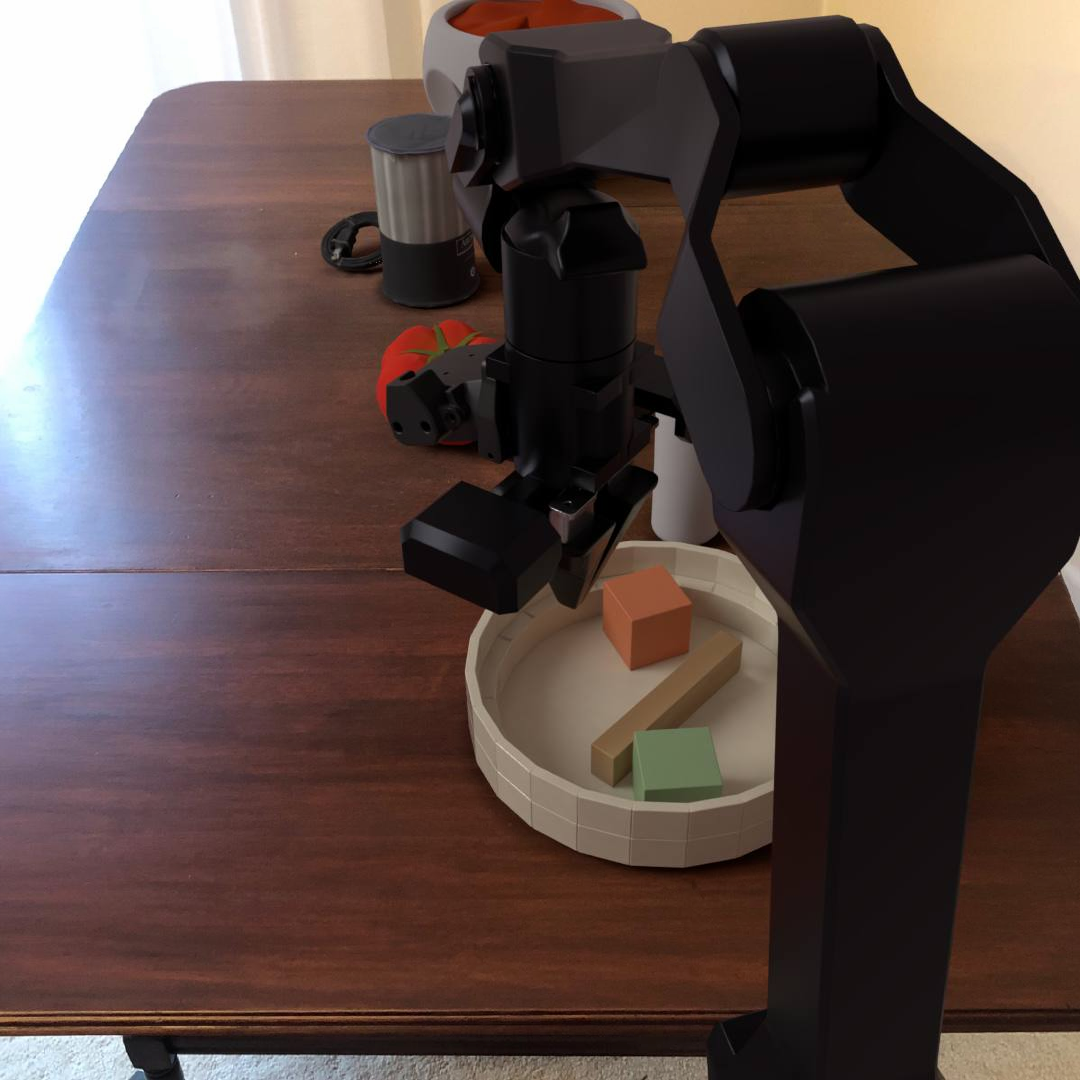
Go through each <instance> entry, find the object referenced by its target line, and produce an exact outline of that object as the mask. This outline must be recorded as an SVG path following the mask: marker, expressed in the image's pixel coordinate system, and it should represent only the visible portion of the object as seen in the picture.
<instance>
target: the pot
mask: <svg viewBox="0 0 1080 1080" xmlns="http://www.w3.org/2000/svg"><path fill="white" fill-rule="evenodd" d="M635 18H637V19H642V20H643V18H642V16H641V14H640V12H639V10H638V8H636V7H635V5H633V4H632V3H630V2H628V1H626V0H452V1H449V2H447V3H445V4H442V6H440V7H439V8H437V9H436V10H435V11H434V13H433V14H431V17H430V20H429V23H428V25H427V28H426V32H425V37H424V41H423V42H424V43H423V46H422V47H423V49H422V59H421V60H422V61H421V63H422V64H421V66H422V68H421V69H422V81H423V88H424V92H425V95H426V98H427V100H428V103H429V105H430V107H431V109H432V111H433V113H437V114H442V115H452V116H453V112H454V108H455V104H456V102H457V100H458V99H459V98H460V96H461V95H462V93H463V87H464V79H465V74H466V70H467V68H468V67H471V66H480V65H481V62H480V58H479V48H480V44H481V42H482V41H483V39H484V38H485V37H486V35H487V34H488V33H490V32H500V31H510V30H521V29H531V28H542V27H552V26H562V25H573V24H583V23H594V22H604V21H614V20H625V19H635ZM485 65H488V64H485Z"/></svg>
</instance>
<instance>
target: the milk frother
mask: <svg viewBox="0 0 1080 1080" xmlns="http://www.w3.org/2000/svg"><path fill="white" fill-rule="evenodd" d="M451 119H452V115H442V114H437V113H434V112H414V113H405V114H401V115H395V116H391V117H386V118H384V119H382V120H379V121H377V122H375V123H374V124H372V125H371V126H370V127H369V128H368V129H367V130H366V132H365V134H364V135H365V140H366V142H367V143H368V144H369V147H370V149H369V150H370V156H371V166H372V177H373V185H374V195H375V203H376V211H375V210H374V211H373V210H367V211H361V212H356V213H354V214H351V215H349V216H348V217H345V218H343V219H341V220H339V221H338V222H336V224H334V225H332V226H331V227H330V228H329V229H328V230H327V231H326V232H325V234H324V235H323V237H322V239H321V242H320V253H321V257H322V258H323V260H324V261H325V262H326V263H327V264H328V265H329V266H331V267H333V268H336V269H340V270H344V271H351V272H357V271H358V272H359V271H366V270H370V269H372V268H375V267H378V266H379V265H382V266H381V267H382V280H381V283H380V288H381V290H382V293H383V295H385V297H387V299H389V300H390V301H392V302H394V303H397V304H400V305H404V306H406V307H414V308H438V307H446V306H449V305H453V304H456V303H459V302H461V301H464V300H466V299H468V298H469V297H471V296H472V295H473V294H475V293H476V291H477V290H478V289H479V286H480V283H481V282H480V275H479V273H478V271H477V270H478V269H477V263H476V252H475V250H476V249H475V242H474V237H475V236H474V235H473V233H472V231H471V229H470V227H469V226H468V224H467V222H466V220H465V218H464V217H463V215H462V213H461V211H460V209H459V207H458V205H457V203H456V201H455V196H454V192H453V175H454V174H455V173H451V174H450V172H449V167H448V161H447V156H446V151H445V142H446V138H447V134H448V131H449V127H450V123H451ZM368 227H373V228H374V227H375V228H378V230H379V238H380V248H379V249H378V250H376V251H374V252H372V253H371V254H368V255H364V256H361V257H353V250H354V245H355V244H356V243H357V235H358V234H359V233H360V229H363V228H368ZM379 261H380V262H379ZM376 262H377V263H376ZM370 263H371V264H370Z"/></svg>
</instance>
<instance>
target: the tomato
mask: <svg viewBox="0 0 1080 1080" xmlns="http://www.w3.org/2000/svg"><path fill="white" fill-rule="evenodd" d="M484 332H486V330H484V331H483V330H482V331H479V330H476V329H475V328H473V327H472V326H470V325H469V324H468V323H466V321H464V320H458V319H457V320H456V319H448V318H447V319H446V320H444V321H442V322H440V323H438V324H436V323H435V322H433V327H428V326H425V325H421V324H416V325H414V326H412V327H410V328H407V329H405V330H404V331H403V332H402V333H401V334H399V336H397V338H395V340H393V341H392V342H391V344H390V345H388V346H387V348H386V350H385V351H384V354H383V355H382V359H381V371H380V373H379V376H378V378H377V381H376V401H377V403H378V407H379V411H380V412H381V414H382V415H383V416H384V417H385V419H386V420H387V422H388V423H389V421H388V418H387V415H386V385H387V384H388V383H390V382H391V381H393V380H394V379H396V378H397V377H399V376H400V375H402V374H403V373H405V372H406V371H408V370H413V371H414V372H416V371H418V370H419V369H421V368H422V367H424V366H425V365H427V364H428V363H430V362H431V361H432V360H434V359H435V358H437V357H438V356H440V355H441V354H443V353H444V352H446V351H448V350H451V349H453V348H456V347H460V346H464V345H474V344H488V343H499V341H498V340H497V339H495V338H493V337H492V338H491V337H485V336H484V335H483V333H484ZM473 442H474V441H463V442H440V443H439V444H441V445H443V446H447V445H448V446H464V445H467V444H471V443H473Z"/></svg>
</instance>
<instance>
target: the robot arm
mask: <svg viewBox="0 0 1080 1080" xmlns="http://www.w3.org/2000/svg"><path fill="white" fill-rule="evenodd" d="M479 58H480V62H481V65H480V66H471V67H468V68H467V70H466V74H465V79H464V87H463V93H462V95H461V96H460V98H459V99H458V100H457V102H456V104H455V108H454V112H453V116H452V119H451V123H450V127H449V131H448V134H447V138H446V142H445V151H446V156H447V161H448V167H449V172H450V174H451V173H455V174H454V175H453V192H454V196H455V201H456V203H457V205H458V207H459V209H460V211H461V213H462V215H463V217H464V218H465V220H466V222H467V224H468V226H469V227H470V229H471V231H472V233H473V235H474V236H473V237H474V238H475V240H476V242H477V243H478V246H479V247H480V249H481V251H482V253H483V255H484V257H485V259H486V260H487V261H488V264H489V265H490V267H491V268H492V270H494V272H495V273H497V274H501V275H502V298H503V299H502V301H503V323H504V341H503V342H498V343H488V344H474V345H464V346H460V347H456V348H453V349H451V350H448V351H446V352H444V353H443V354H441V355H440V356H438V357H437V358H435V359H434V360H432V361H431V362H430V363H428V364H427V365H425V366H424V367H422V368H421V369H419V370H418V371H416V372H414V371H413V370H408V371H406V372H405V373H403V374H402V375H400V376H399V377H397V378H396V379H394V380H393V381H391V382H390V383H388V384H387V385H386V415H387V418H388V420H387V422H388V421H389V422H388V425H389V426H390V428H391V431H392V434H393V437H394V438H395V439H396V440H397V442H400V444H402V445H404V446H407V447H434V446H435V447H436V446H437V445H439V444H440V442H463V441H473V442H477V445H478V447H477V449H478V457H479V458H481V459H483V460H487V461H489V462H492V463H494V464H497V465H501V464H503V463H504V462H505V461H508V462H511V463H513V466H514V467H513V468H514V470H513V471H512V472H511V473H510V474H508V475H507V476H506V477H504V478H503V479H501V481H500V482H498V483H497V484H496V485H495V486H494V487H493V488H492V489H490V490H487V489H485V488H483V487H480V486H478V485H475V484H472V483H469V482H467V481H464V480H460V481H458V482H457V483H456V484H454V485H452V486H451V487H450V488H448V489H447V490H446V491H445V490H444V492H442V494H440V495H439V496H438V497H436V498H435V499H434V500H433V501H431V502H430V503H429V504H428V505H427V506H425V507H424V508H423V509H421V510H420V512H418V513H417V514H416V515H414V516H413V517H411V518H410V519H409V520H408V521H407V522H406V523H404V524H403V525H402V526H401V527H399V538H400V547H401V558H402V564H403V565H402V566H403V572H404V574H407V575H409V576H411V577H413V578H415V579H418V580H420V581H422V582H424V583H426V584H429V585H431V586H433V587H435V588H438V589H440V590H442V591H444V592H447V593H449V594H450V595H451V594H452V595H454V596H456V597H458V598H460V599H463V600H464V601H466V602H469V603H471V604H474V605H476V606H478V607H480V608H482V609H484V610H485V609H487V610H489V611H491V612H493V613H496V614H498V615H503V614H510V613H518V612H519V611H520V610H521V609H522V608H523V607H524V606H525V605H526V604H527V603H528V602H529V601H530V600H531V599H532V598H533V597H534V596H535V595H536V594H537V593H538V592H539V591H540V590H541V589H542V588H543V587H545V586H546V585H547V584H548V583H549V585H550V587H551V589H552V591H553V593H554V595H555V597H556V599H557V601H558V602H559V603H560V604H562V605H564V606H566V607H569V608H571V609H577V608H578V606H579V605H580V604H581V603H582V602H583V601H584V600H585V599H586V597H587V595H588V594H589V592H590V590H591V588H592V587H593V585H594V583H595V582H596V580H597V578H598V577H599V575H600V573H601V572H602V570H603V568H604V567H605V565H606V563H607V562H608V560H609V558H610V557H611V555H612V553H613V552H614V550H615V549H616V547H617V545H618V544H619V542H621V541H622V539H623V538H624V536H625V534H626V532H627V531H628V530H629V528H630V526H631V525H632V524H633V521H634V520H635V518H636V517H637V515H638V514H639V512H640V511H641V509H642V508H643V506H644V504H645V502H647V500H648V498H649V496H651V493H653V490H654V489H655V488H656V486H657V484H658V476H657V474H656V473H654V471H652V470H650V469H646V468H644V467H641V466H638V465H635V457H636V456H637V455H638V454H639V453H641V452H642V451H643V450H644V449H645V448H646V447H647V446H648V445H650V443H651V436H652V435H651V434H652V433H653V432H655V429H656V428H657V427H658V426H659V419H658V418H657V417H656V416H654V414H656V412H657V413H660V414H663V415H666V416H669V417H672V418H675V430H674V435H675V436H676V437H677V438H679V439H680V440H681V441H684V442H687V443H690V444H692V443H693V446H694V449H695V452H696V455H697V458H698V461H699V464H700V467H701V470H702V472H703V474H704V477H705V479H706V481H707V484H708V486H709V488H710V490H711V493H712V505H713V516H714V522H715V524H716V526H717V528H718V530H719V531H718V532H719V533H720V534H721V536H722V537H723V539H724V540H725V541H726V542H727V544H728V545H729V547H730V549H731V550H732V551H733V553H734V555H736V556H737V557H738V558H739V560H740V561H741V562H742V564H743V565H744V567H745V568H746V570H747V571H748V572H749V574H750V575H751V577H752V578H753V580H754V581H755V582H756V584H757V585H758V587H759V588H760V590H761V591H762V592H763V594H764V595H765V597H766V598H767V600H768V601H769V602H770V604H771V605H772V607H773V608H774V609H775V611H776V614H777V622H778V656H777V690H776V724H775V759H774V793H773V827H772V843H771V864H770V865H771V867H770V868H771V869H770V899H769V930H768V931H769V932H768V933H769V934H768V935H769V937H768V964H767V966H768V969H767V1000H766V1001H767V1002H766V1003H767V1005H766V1008H763V1009H759V1010H756V1011H752V1012H748V1013H744V1014H741V1015H736V1016H734V1017H730V1018H727V1019H722V1020H719V1021H716V1022H715V1023H714V1024H713V1026H712V1029H711V1031H710V1034H709V1036H708V1038H707V1040H706V1043H705V1053H706V1054H705V1056H706V1070H707V1080H947V1079H946V1078H945V1076H944V1074H943V1073H942V1071H941V1070H940V1069H939V1053H940V1045H941V1038H942V1030H943V1021H944V1015H945V1014H944V1013H945V1004H946V998H947V991H948V990H947V989H948V980H949V971H950V965H951V957H952V949H953V941H954V932H955V924H956V916H957V908H958V900H959V894H960V893H959V892H960V884H961V876H962V867H963V860H964V852H965V844H966V836H967V828H968V822H969V821H968V820H969V812H970V804H971V796H972V788H973V779H974V773H975V764H976V755H977V749H978V740H979V731H980V724H981V715H982V708H983V698H984V691H985V684H986V675H987V670H988V665H989V661H990V657H991V655H992V654H993V652H994V651H995V649H997V648H998V646H999V645H1000V644H1001V643H1002V641H1003V640H1004V639H1005V638H1006V637H1007V636H1008V634H1009V633H1010V632H1011V631H1012V630H1013V628H1014V627H1015V626H1016V624H1017V623H1018V622H1019V621H1020V620H1021V619H1022V618H1023V616H1025V614H1026V613H1027V612H1028V610H1029V609H1030V608H1031V607H1032V606H1033V605H1034V604H1035V602H1036V601H1037V600H1038V599H1039V597H1040V596H1041V595H1042V594H1043V592H1044V591H1045V590H1046V589H1047V588H1048V587H1049V585H1050V584H1051V583H1052V582H1053V580H1054V579H1055V578H1056V577H1057V576H1058V574H1059V573H1060V572H1061V571H1062V570H1063V569H1064V567H1065V566H1066V565H1067V564H1068V563H1069V562H1070V560H1071V559H1072V557H1073V556H1074V554H1075V552H1076V550H1077V547H1078V544H1079V541H1080V277H1079V275H1078V274H1077V272H1076V271H1077V270H1076V269H1075V267H1074V265H1073V264H1072V262H1071V259H1070V258H1069V256H1068V254H1067V252H1066V250H1065V248H1064V246H1063V244H1062V242H1061V240H1060V238H1059V237H1058V235H1057V233H1056V230H1055V228H1054V227H1053V225H1052V223H1051V221H1050V219H1049V216H1048V214H1047V213H1046V211H1045V209H1044V207H1043V205H1042V203H1041V201H1040V199H1039V197H1038V196H1037V195H1036V193H1035V192H1034V191H1033V189H1032V188H1031V187H1030V186H1029V185H1028V184H1027V182H1025V181H1024V180H1023V179H1021V178H1020V177H1019V176H1017V175H1016V174H1015V173H1013V172H1012V171H1011V170H1010V169H1008V168H1007V167H1006V166H1005V165H1003V164H1002V163H1000V162H999V161H998V160H997V159H996V158H994V157H993V156H992V155H990V154H989V153H988V152H987V151H985V150H984V149H983V148H982V147H981V146H979V145H977V143H975V142H974V141H973V140H971V139H970V138H968V136H966V135H965V134H963V133H962V132H961V131H959V129H957V128H956V127H955V126H953V125H952V124H951V123H949V122H948V121H947V120H946V119H944V118H943V117H942V116H941V115H939V114H938V113H937V112H935V111H934V110H933V109H932V108H930V107H929V106H927V105H926V104H925V103H923V102H922V101H921V100H920V99H919V98H918V97H917V96H916V93H915V91H914V89H913V87H912V86H911V83H910V81H909V79H908V77H907V75H906V73H905V70H904V68H903V65H902V64H901V62H900V60H899V59H898V55H897V54H896V53H895V50H894V48H893V46H892V44H891V43H890V41H889V39H888V38H887V36H886V35H884V33H883V31H882V30H881V28H879V27H878V26H876V25H872V24H869V23H866V22H862V23H856V21H855V20H854V19H853V18H852V17H850V16H845V15H842V14H832V15H831V14H829V15H820V16H811V17H801V18H799V17H798V18H791V19H779V20H770V21H769V20H768V21H761V22H751V23H739V24H730V25H729V24H728V25H719V26H710V27H708V26H707V27H703V28H700V29H699V30H697V31H696V32H695V33H694V34H693V36H692V37H691V38H689V39H687V40H684V41H677V42H673V34H672V33H671V32H670V31H669V30H668V29H667V28H665V27H663V26H660V25H657V24H655V23H654V22H653V23H652V22H650V21H647V20H645V19H643V18H642V19H637V18H635V19H625V20H614V21H604V22H594V23H583V24H573V25H562V26H552V27H542V28H531V29H521V30H510V31H500V32H490V33H488V34H487V35H486V37H485V38H484V39H483V41H482V42H481V44H480V48H479ZM485 64H488V65H485ZM625 177H631V178H637V179H643V180H648V181H653V182H659V183H663V184H670V185H671V187H672V189H673V193H674V195H675V198H676V200H677V201H676V202H677V203H678V206H679V209H680V212H681V215H682V217H683V221H684V225H685V226H684V230H683V234H682V237H681V240H680V243H679V247H678V249H677V253H676V257H675V261H674V264H673V267H672V271H671V274H670V277H669V281H668V284H667V288H666V291H665V294H664V297H663V301H662V305H661V308H660V311H659V315H658V317H657V321H656V340H657V343H658V346H659V348H660V352H661V355H658V354H656V353H655V350H656V348H655V347H656V346H655V344H651V343H647V342H646V341H641V340H638V339H637V332H638V308H639V307H638V306H639V305H638V304H639V303H638V302H639V275H640V272H641V271H645V270H646V269H647V267H648V265H649V262H648V261H649V258H648V254H647V251H646V250H647V249H646V247H645V244H644V243H645V242H644V240H643V238H642V237H641V226H640V224H639V222H638V221H637V220H636V219H635V218H634V216H633V215H632V214H631V213H630V212H629V211H628V209H627V208H626V207H625V206H624V205H623V204H622V203H621V202H620V201H618V200H617V199H616V198H614V197H612V196H610V195H609V194H607V193H605V192H603V191H600V190H598V189H597V186H596V184H595V181H599V180H600V181H601V180H608V179H617V178H625ZM837 186H838V187H839V189H840V191H841V193H842V196H843V198H844V201H845V202H846V203H847V204H848V206H849V207H850V208H851V210H852V211H853V212H854V213H855V214H856V215H858V216H859V217H860V218H861V219H862V220H863V221H865V222H866V223H867V224H868V225H869V226H871V228H873V229H874V230H876V231H877V232H878V233H879V234H880V235H882V236H883V237H884V238H885V239H887V241H889V242H890V243H892V244H893V245H894V246H895V247H896V248H898V249H899V250H900V251H901V252H902V253H903V254H905V255H906V256H907V257H909V258H910V259H911V260H913V261H914V262H915V264H911V265H905V266H897V267H891V268H884V269H877V270H870V271H862V272H857V273H850V274H843V275H836V276H830V277H829V276H828V277H822V278H816V279H809V280H808V279H807V280H801V281H795V282H788V283H780V284H774V285H767V286H760V287H757V288H756V289H753V290H752V291H750V292H748V293H747V294H745V295H743V296H742V297H741V299H740V301H739V303H738V304H736V301H735V298H734V296H733V293H732V291H731V289H730V286H729V283H728V281H727V277H726V274H725V271H724V270H723V267H722V264H721V261H720V259H719V256H718V253H717V250H716V248H715V245H714V243H713V239H712V234H713V231H714V227H715V226H714V225H715V223H716V219H717V216H718V212H719V209H720V206H721V205H720V204H721V202H722V201H728V200H735V199H742V198H750V197H751V198H752V197H758V196H759V197H760V196H768V195H774V194H783V193H788V192H797V191H805V190H813V189H820V188H828V187H837Z"/></svg>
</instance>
